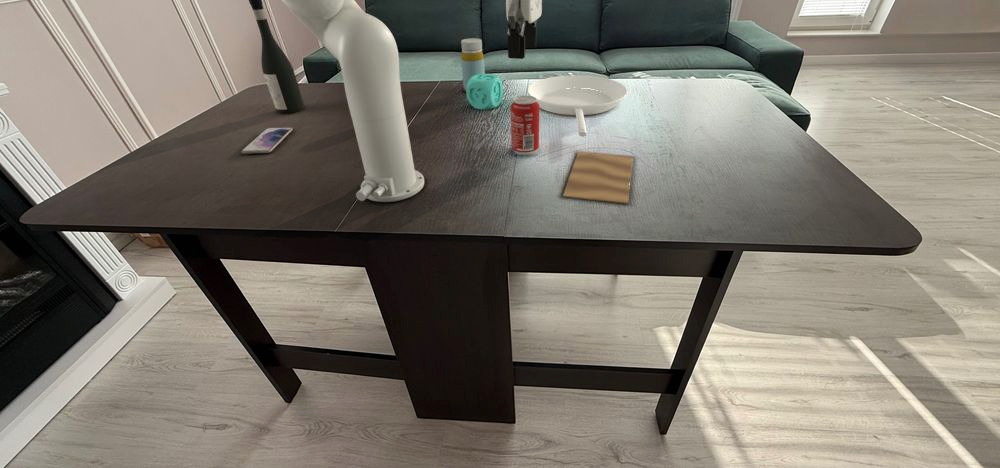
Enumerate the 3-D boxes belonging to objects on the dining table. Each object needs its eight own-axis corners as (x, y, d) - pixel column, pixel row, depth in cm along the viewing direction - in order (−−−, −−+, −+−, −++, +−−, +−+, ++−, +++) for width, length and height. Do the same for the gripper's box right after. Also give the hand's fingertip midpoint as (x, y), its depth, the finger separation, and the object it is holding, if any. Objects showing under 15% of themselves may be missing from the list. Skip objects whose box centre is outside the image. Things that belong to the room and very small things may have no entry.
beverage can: (539, 145, 100) (540, 94, 93) (538, 156, 95) (539, 104, 88) (512, 145, 101) (511, 94, 94) (510, 156, 96) (509, 104, 89)
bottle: (460, 89, 139) (456, 39, 130) (480, 85, 141) (477, 37, 132) (468, 95, 133) (464, 43, 125) (489, 91, 136) (486, 40, 127)
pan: (618, 87, 134) (620, 74, 132) (644, 145, 98) (646, 129, 96) (528, 88, 137) (528, 75, 134) (521, 145, 101) (521, 129, 99)
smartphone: (293, 127, 114) (269, 150, 101) (294, 130, 114) (270, 153, 102) (266, 127, 114) (239, 151, 101) (267, 130, 114) (241, 154, 102)
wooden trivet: (627, 204, 78) (628, 202, 78) (562, 196, 81) (562, 195, 81) (632, 157, 93) (632, 156, 93) (578, 152, 96) (578, 151, 96)
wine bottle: (281, 116, 123) (241, -1, 106) (273, 109, 128) (233, -3, 111) (308, 109, 127) (274, -4, 110) (300, 103, 132) (266, -6, 115)
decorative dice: (480, 99, 129) (478, 72, 125) (503, 102, 126) (503, 74, 122) (467, 107, 124) (464, 79, 119) (491, 111, 121) (490, 82, 116)
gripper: (533, -48, 68) (530, 64, 78) (553, -52, 82) (549, 44, 91) (488, -48, 70) (492, 62, 80) (515, -51, 83) (515, 43, 93)
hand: (522, 52), depth 86 cm, fingers open, 9 cm apart
